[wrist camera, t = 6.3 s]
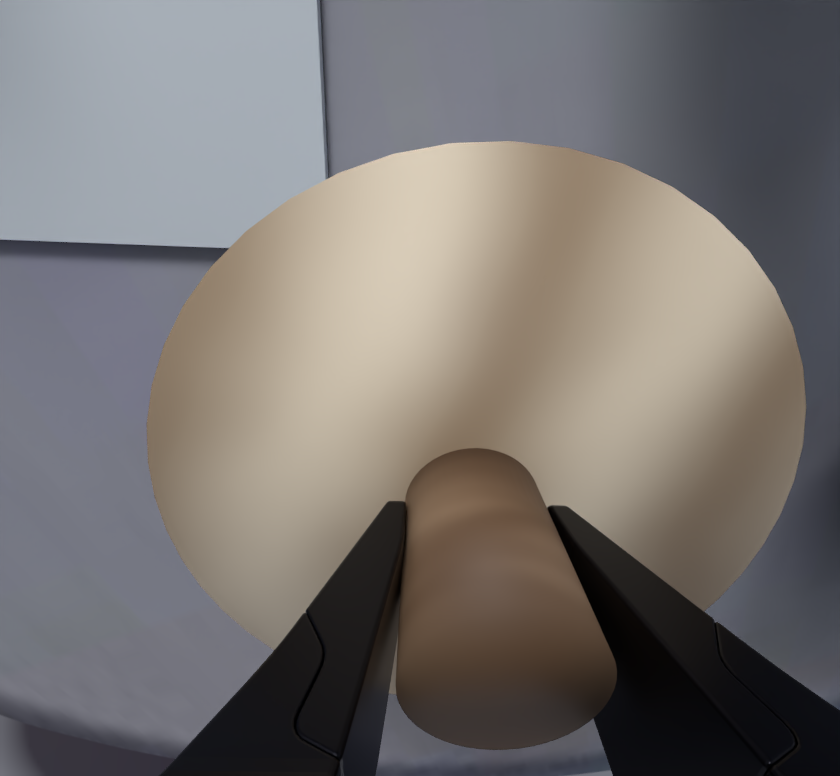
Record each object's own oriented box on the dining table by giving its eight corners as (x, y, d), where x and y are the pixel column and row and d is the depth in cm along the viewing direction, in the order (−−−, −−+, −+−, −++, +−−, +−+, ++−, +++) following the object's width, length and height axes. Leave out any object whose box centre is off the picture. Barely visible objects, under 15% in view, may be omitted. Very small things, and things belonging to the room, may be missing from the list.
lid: (887, 167, 8) (1610, 82, 3) (669, 671, 13) (801, 907, 9) (98, 134, 7) (-440, -15, 3) (223, 661, 13) (117, 900, 9)
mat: (306, -290, 11) (301, -312, 10) (331, 251, 16) (329, 251, 16) (-375, -331, 10) (-410, -356, 10) (-118, 234, 16) (-135, 234, 15)
